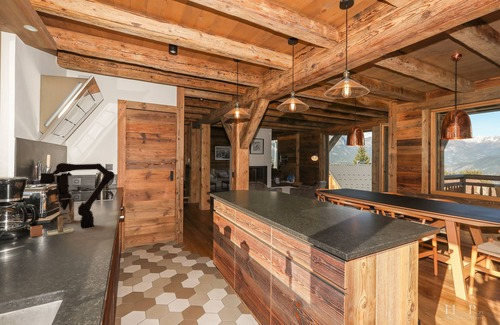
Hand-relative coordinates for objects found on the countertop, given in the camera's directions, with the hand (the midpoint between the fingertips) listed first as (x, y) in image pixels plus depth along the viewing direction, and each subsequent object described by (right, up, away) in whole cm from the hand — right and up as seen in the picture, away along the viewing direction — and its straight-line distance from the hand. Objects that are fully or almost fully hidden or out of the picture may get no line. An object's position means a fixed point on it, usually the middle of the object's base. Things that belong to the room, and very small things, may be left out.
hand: (63, 208), depth 146 cm
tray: (+3, -13, -6) cm, 15 cm away
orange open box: (-7, -13, -11) cm, 18 cm away
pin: (+3, -13, -6) cm, 14 cm away
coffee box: (-11, -13, +18) cm, 24 cm away
